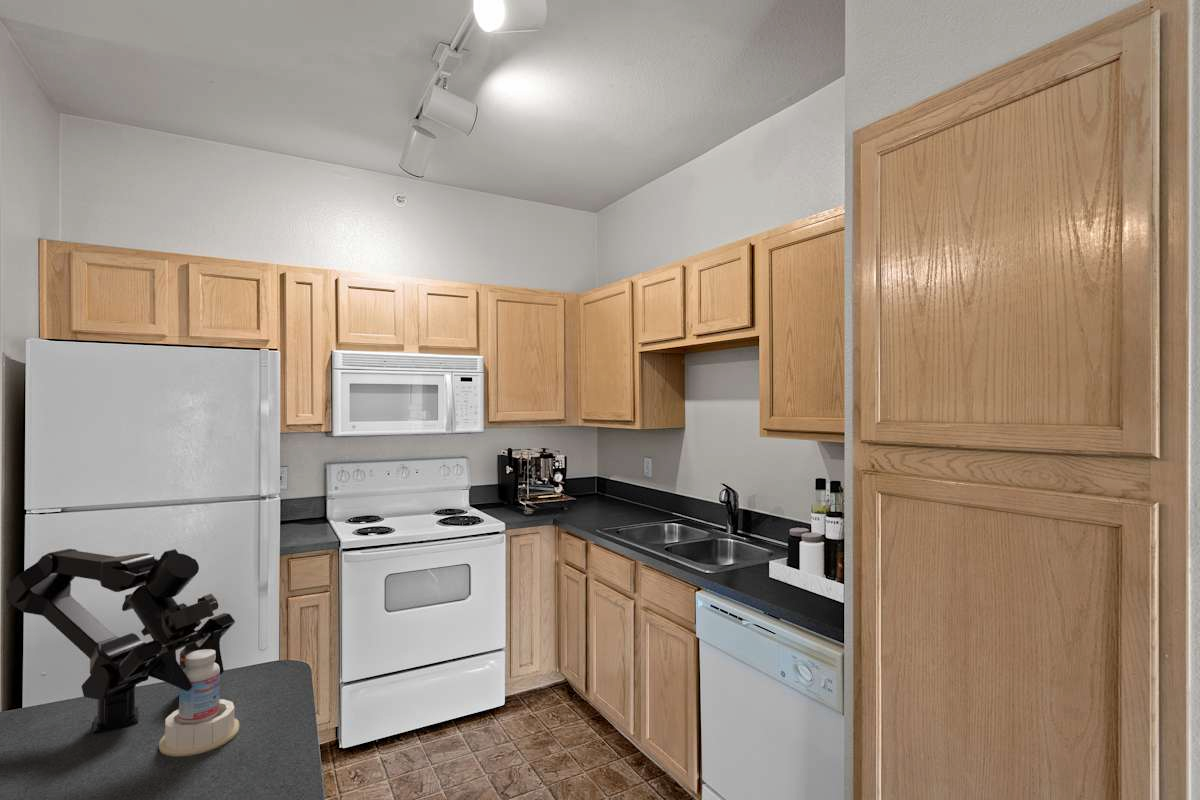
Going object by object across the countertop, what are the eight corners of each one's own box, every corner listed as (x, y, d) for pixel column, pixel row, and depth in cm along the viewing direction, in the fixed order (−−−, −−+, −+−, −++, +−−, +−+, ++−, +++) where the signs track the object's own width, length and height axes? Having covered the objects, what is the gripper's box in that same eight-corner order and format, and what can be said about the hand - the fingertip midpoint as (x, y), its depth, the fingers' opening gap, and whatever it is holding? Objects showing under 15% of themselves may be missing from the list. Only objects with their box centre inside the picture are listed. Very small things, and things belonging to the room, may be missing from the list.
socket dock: (157, 733, 110) (158, 710, 110) (234, 713, 117) (234, 691, 117) (160, 765, 100) (160, 739, 100) (243, 740, 108) (244, 716, 108)
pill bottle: (198, 727, 105) (199, 663, 105) (170, 722, 107) (171, 659, 107) (227, 710, 111) (228, 649, 111) (200, 706, 113) (201, 645, 113)
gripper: (132, 601, 101) (183, 676, 98) (228, 571, 119) (273, 634, 116) (96, 642, 103) (145, 717, 100) (196, 607, 121) (239, 669, 118)
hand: (206, 681), depth 109 cm, fingers closed on pill bottle, 6 cm apart
